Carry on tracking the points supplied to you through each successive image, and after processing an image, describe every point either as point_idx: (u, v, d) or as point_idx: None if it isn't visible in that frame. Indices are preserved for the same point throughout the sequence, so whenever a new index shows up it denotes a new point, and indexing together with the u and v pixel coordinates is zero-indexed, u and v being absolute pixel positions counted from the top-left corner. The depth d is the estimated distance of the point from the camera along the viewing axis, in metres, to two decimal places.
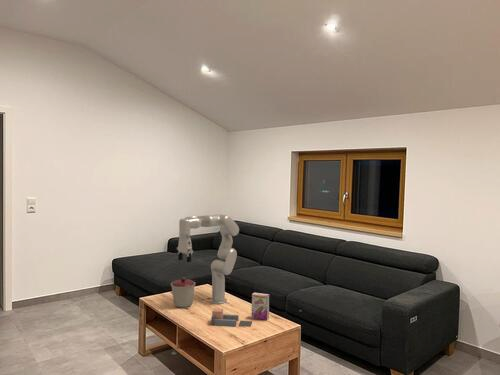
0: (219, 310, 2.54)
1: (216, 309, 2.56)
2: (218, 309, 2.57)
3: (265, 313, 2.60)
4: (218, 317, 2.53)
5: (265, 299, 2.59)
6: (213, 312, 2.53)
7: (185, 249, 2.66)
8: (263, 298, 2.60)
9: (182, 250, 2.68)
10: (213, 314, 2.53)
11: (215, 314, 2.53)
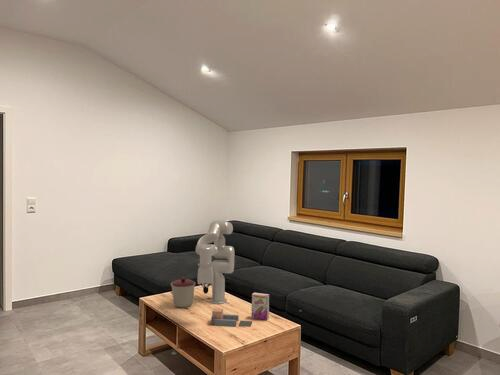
0: (219, 310, 2.54)
1: (216, 309, 2.56)
2: (218, 309, 2.57)
3: (265, 313, 2.60)
4: (218, 317, 2.53)
5: (265, 299, 2.59)
6: (213, 312, 2.53)
7: None
8: (263, 298, 2.60)
9: None
10: (213, 314, 2.53)
11: (215, 314, 2.53)
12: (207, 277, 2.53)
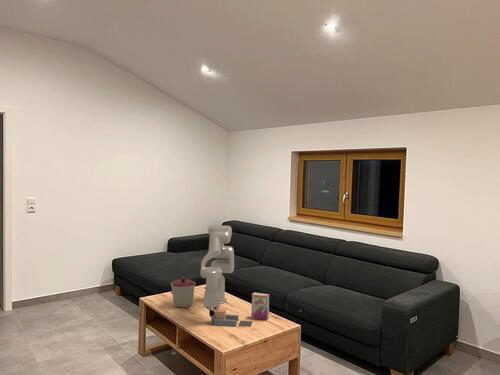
0: (222, 310, 2.54)
1: (219, 309, 2.56)
2: (221, 309, 2.56)
3: (265, 313, 2.60)
4: (221, 317, 2.52)
5: (265, 299, 2.59)
6: (216, 312, 2.53)
7: None
8: (263, 298, 2.60)
9: None
10: (216, 314, 2.53)
11: (218, 314, 2.53)
12: (213, 301, 2.53)
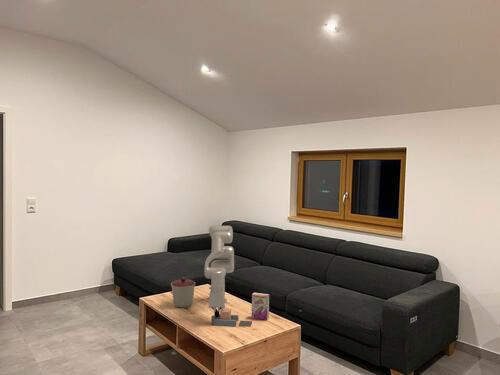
0: (227, 310, 2.54)
1: (224, 309, 2.56)
2: (226, 309, 2.56)
3: (265, 313, 2.60)
4: (226, 317, 2.52)
5: (265, 299, 2.59)
6: (221, 312, 2.52)
7: None
8: (263, 298, 2.60)
9: None
10: (221, 314, 2.52)
11: (223, 314, 2.52)
12: (218, 301, 2.52)
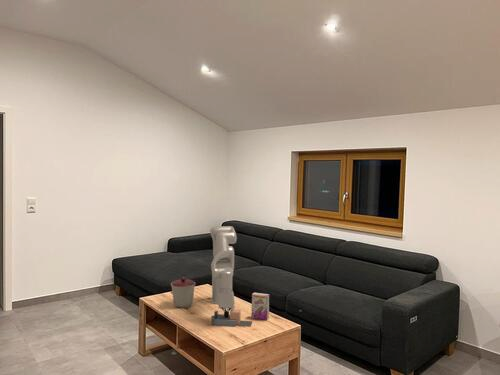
0: (237, 311, 2.53)
1: (234, 310, 2.55)
2: (235, 310, 2.55)
3: (265, 313, 2.60)
4: (236, 318, 2.51)
5: (265, 299, 2.59)
6: (231, 313, 2.52)
7: None
8: (263, 298, 2.60)
9: None
10: (231, 315, 2.52)
11: (233, 315, 2.51)
12: (228, 301, 2.52)
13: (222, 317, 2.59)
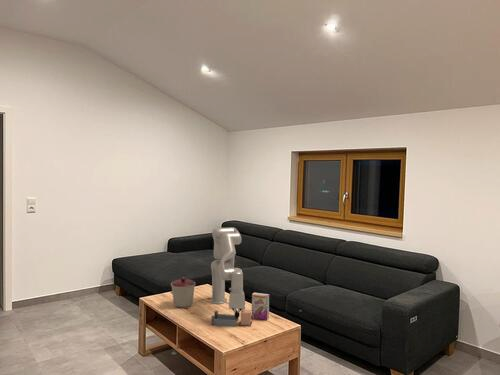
0: (247, 311, 2.52)
1: (244, 310, 2.54)
2: (246, 310, 2.54)
3: (265, 313, 2.60)
4: (247, 318, 2.50)
5: (265, 299, 2.59)
6: (241, 313, 2.51)
7: None
8: (263, 298, 2.60)
9: None
10: (241, 315, 2.51)
11: (243, 315, 2.50)
12: (239, 302, 2.51)
13: (222, 317, 2.59)
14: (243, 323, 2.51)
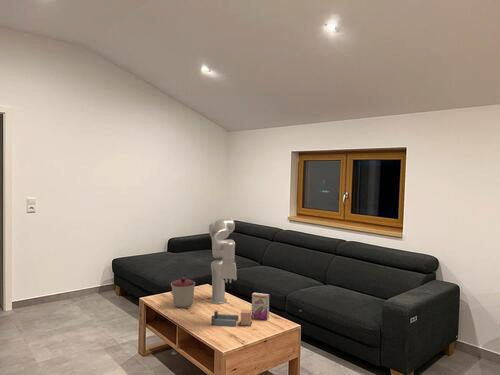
0: (247, 311, 2.52)
1: (244, 310, 2.54)
2: (246, 310, 2.54)
3: (265, 313, 2.60)
4: (247, 318, 2.50)
5: (265, 299, 2.59)
6: (242, 313, 2.51)
7: None
8: (263, 298, 2.60)
9: None
10: (242, 315, 2.51)
11: (244, 315, 2.50)
12: (230, 272, 2.53)
13: (222, 317, 2.59)
14: (243, 323, 2.51)
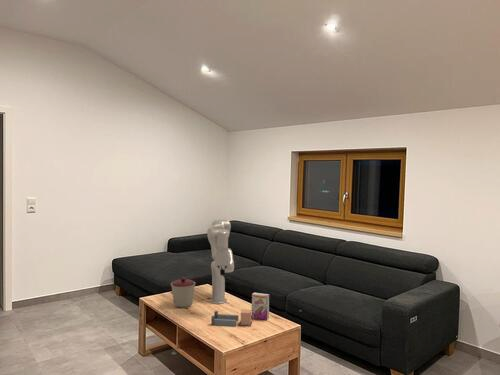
0: (247, 311, 2.52)
1: (244, 310, 2.54)
2: (246, 310, 2.54)
3: (265, 313, 2.60)
4: (247, 318, 2.50)
5: (265, 299, 2.59)
6: (242, 313, 2.51)
7: None
8: (263, 298, 2.60)
9: None
10: (242, 315, 2.51)
11: (244, 315, 2.50)
12: (224, 260, 2.67)
13: (222, 317, 2.59)
14: (243, 323, 2.51)
